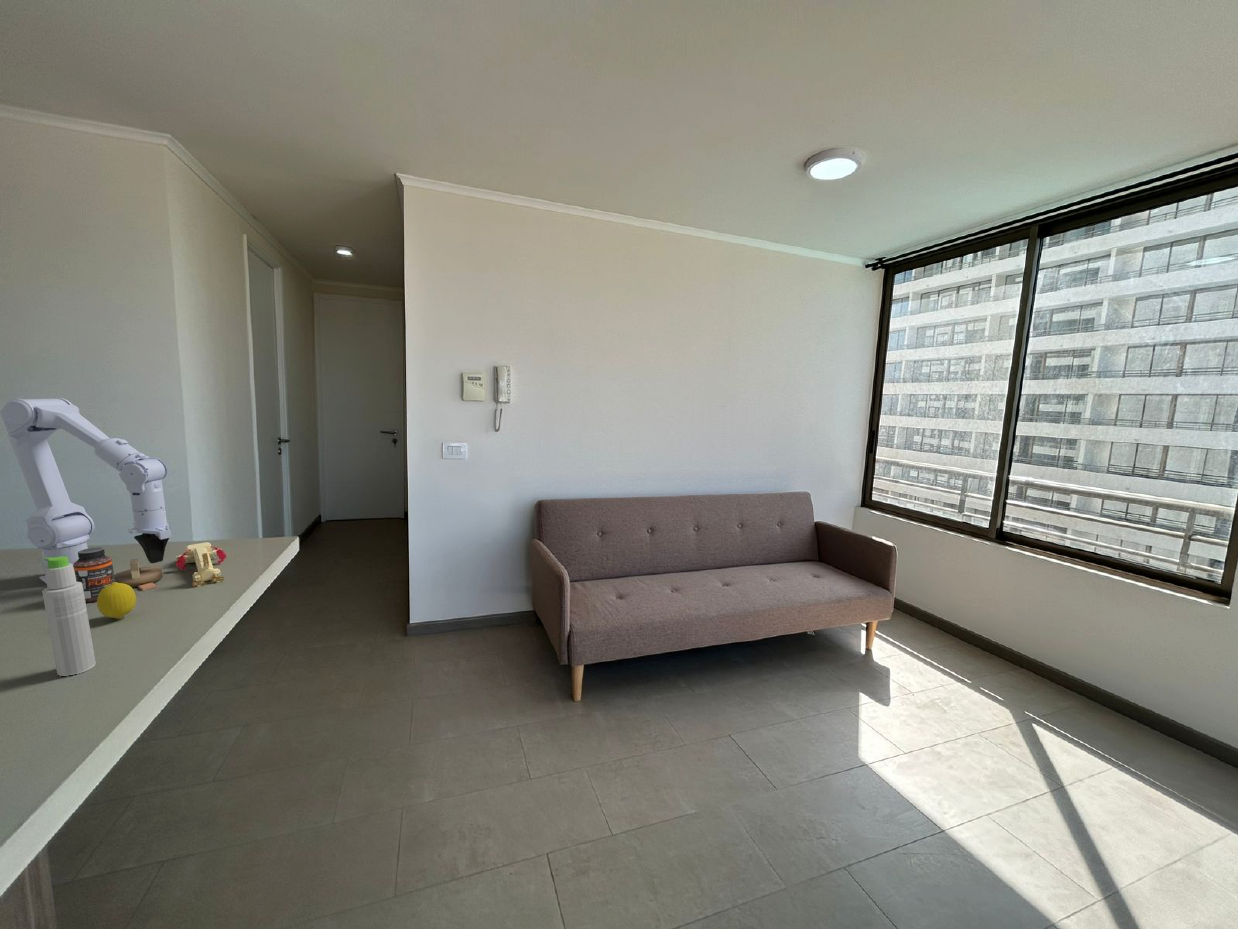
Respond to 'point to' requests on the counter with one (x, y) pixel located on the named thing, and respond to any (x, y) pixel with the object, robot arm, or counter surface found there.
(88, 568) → the supplement bottle
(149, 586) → the salmon square tile
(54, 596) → the bottle
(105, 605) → the lemon
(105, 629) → the counter surface
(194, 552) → the toy vehicle
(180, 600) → the counter surface
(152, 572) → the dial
